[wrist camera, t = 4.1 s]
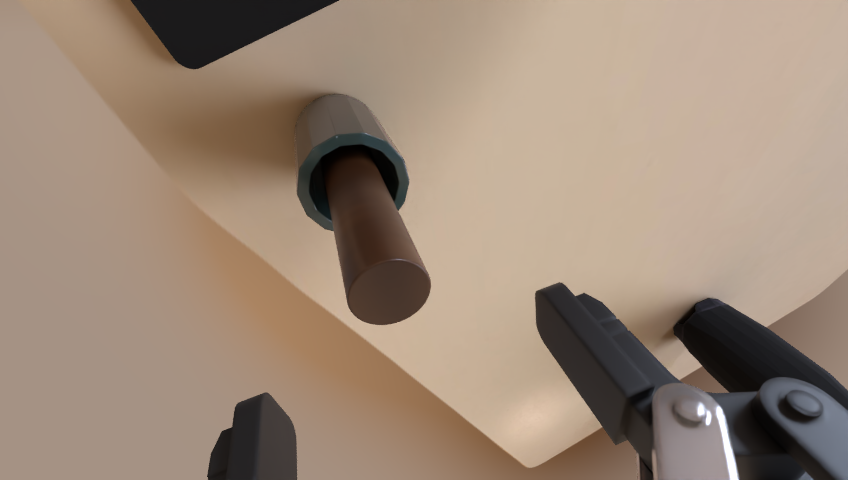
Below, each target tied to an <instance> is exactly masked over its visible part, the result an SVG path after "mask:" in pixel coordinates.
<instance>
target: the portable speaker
mask: <svg viewBox="0 0 848 480" xmlns="http://www.w3.org/2000/svg"><path fill="white" fill-rule="evenodd" d="M695 309H696V311H695V312H694V313H693V314H692V315H691V317H690V318H689V319H688V320H687V321H686V322H685V323H684V324H680V323H679V324H676V325H675V326H674V335H675V336H676V337H677V338H678V339H679V340H680V341H681V342H682V343H683V344H684V345H685V347H686V348H687V349H688V351H689V352H690V353H691V354H692V355H693V356H694V357H695V358H696V359H697V360H698V361H699V363H700V364H701V365H702V366H703V367H704V368H705V369H706V370H707V372H709V373H710V374H711V375H712V376H713V377H714V378H715V379H716V380H717V381H718V382H719V383H720V384H721V385H722V386H723V387H724V388H725V389H726V390H728V391H729V392H730V393H735V392H755V391H759V389H760V388H761V386H762V385H763V383H765V382H766V381H767V380H769V379H772V378H777V377H788V378H794V379H798V380H802V381H805V382H807V383H810V384H812V385H814V386H816V387H818V388H819V389H821V390H823V391H824V392H826V393H827V394H828V395H830V396H831V397H832V398H833V399H835V400H836V401H837V402H838V403H839V404H841V405H842V406H843V407H844V408H845V409H847V410H848V391H847V389H845V388H844V387H843V386H842V385H841V384H840V383H839V382H838V381H837V380H836V379H835V378H834V377H833V376H832V375H831V374H830V373H828V372H827V371H826V370H824V369H823V368H821V367H820V366H819V365H817V364H816V363H815V362H813V361H812V360H811V359H809V358H808V357H806V356H805V355H804V354H802V353H801V352H799V351H798V350H797V349H795V348H794V347H793V346H791V345H790V344H789V343H787V342H786V341H784V340H783V339H782V338H780V337H779V336H778V335H776V334H775V333H774V332H772V331H771V330H769V329H768V328H766V327H764V326H763V325H761V324H759V323H758V322H756V321H754V320H753V319H751V318H749V317H748V316H746V315H744V314H743V313H741V312H739V311H737V310H736V309H734V308H732V307H731V306H729V305H726V304H725V303H723V302H721V301H720V300H718V299H712V298H709V299H706V300H704V301H701V302H699V303H697V304H696V306H695Z"/></svg>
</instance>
